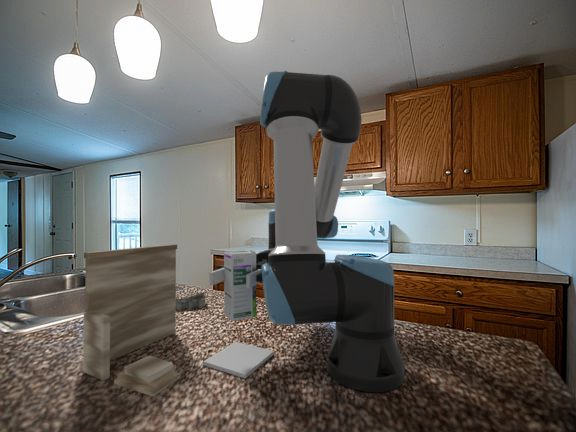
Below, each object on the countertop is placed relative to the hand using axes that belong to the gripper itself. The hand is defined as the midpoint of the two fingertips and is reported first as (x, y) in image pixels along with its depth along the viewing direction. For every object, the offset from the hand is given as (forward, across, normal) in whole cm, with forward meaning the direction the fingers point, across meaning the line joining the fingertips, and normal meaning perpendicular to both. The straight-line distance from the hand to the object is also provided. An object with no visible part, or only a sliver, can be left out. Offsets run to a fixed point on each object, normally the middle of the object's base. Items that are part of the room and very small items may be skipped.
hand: (229, 280), depth 58 cm
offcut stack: (+8, +13, -19) cm, 24 cm away
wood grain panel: (-1, +23, -19) cm, 30 cm away
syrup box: (-5, 0, -9) cm, 10 cm away
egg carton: (-34, +35, -20) cm, 53 cm away
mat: (-4, 0, -18) cm, 19 cm away
